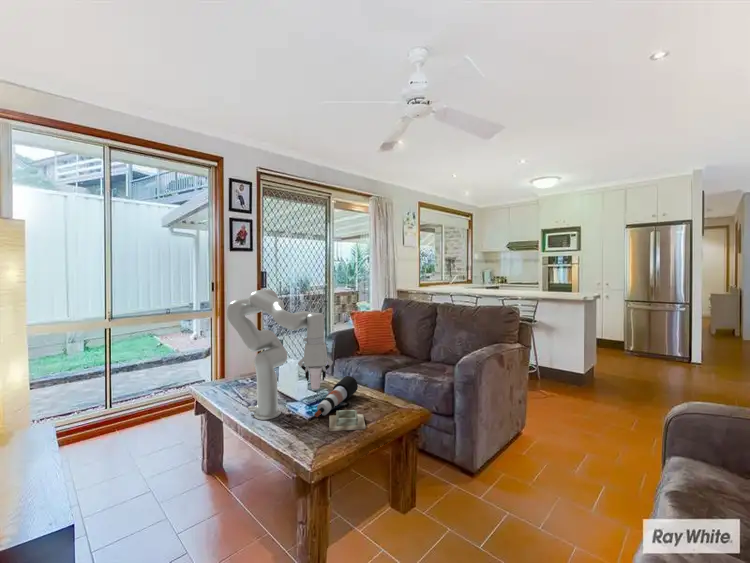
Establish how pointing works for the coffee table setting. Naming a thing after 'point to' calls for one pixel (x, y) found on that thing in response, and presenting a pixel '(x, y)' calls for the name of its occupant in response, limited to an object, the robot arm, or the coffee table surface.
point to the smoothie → (315, 376)
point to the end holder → (346, 420)
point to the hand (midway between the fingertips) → (315, 379)
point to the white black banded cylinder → (338, 395)
